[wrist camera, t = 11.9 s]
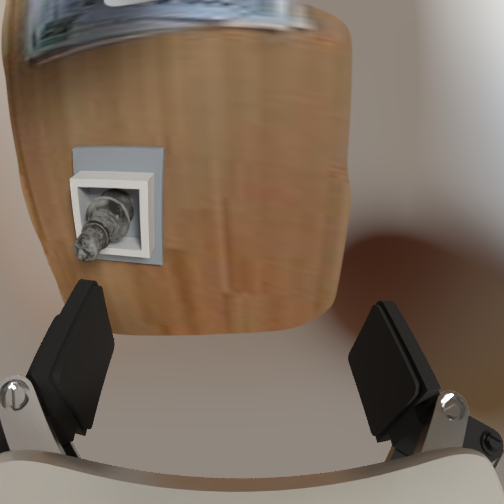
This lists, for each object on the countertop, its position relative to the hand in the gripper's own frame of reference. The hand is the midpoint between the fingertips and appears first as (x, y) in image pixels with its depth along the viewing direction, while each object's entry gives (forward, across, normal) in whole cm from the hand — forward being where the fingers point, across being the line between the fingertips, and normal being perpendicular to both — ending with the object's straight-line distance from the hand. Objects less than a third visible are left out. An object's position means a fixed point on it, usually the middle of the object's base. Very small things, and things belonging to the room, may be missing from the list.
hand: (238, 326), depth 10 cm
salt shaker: (+28, +14, +9) cm, 32 cm away
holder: (+28, +14, +9) cm, 33 cm away
